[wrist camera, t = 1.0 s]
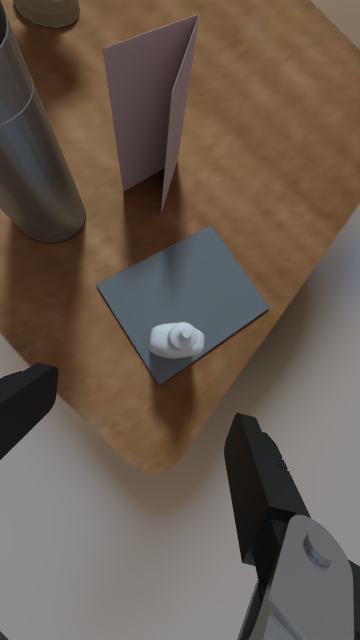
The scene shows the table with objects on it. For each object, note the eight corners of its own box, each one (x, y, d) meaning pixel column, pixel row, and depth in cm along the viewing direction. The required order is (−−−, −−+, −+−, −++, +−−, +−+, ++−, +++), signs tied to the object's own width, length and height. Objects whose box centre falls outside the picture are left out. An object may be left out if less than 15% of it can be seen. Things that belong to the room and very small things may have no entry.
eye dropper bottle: (178, 371, 27) (201, 378, 15) (143, 347, 27) (140, 335, 15) (195, 344, 28) (229, 331, 17) (162, 320, 28) (173, 291, 16)
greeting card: (174, 156, 35) (193, 8, 20) (202, 187, 34) (243, 59, 20) (119, 187, 32) (96, 41, 17) (150, 222, 31) (153, 101, 17)
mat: (96, 285, 28) (95, 284, 28) (210, 226, 33) (211, 224, 32) (159, 385, 27) (159, 385, 26) (268, 308, 31) (269, 307, 31)
